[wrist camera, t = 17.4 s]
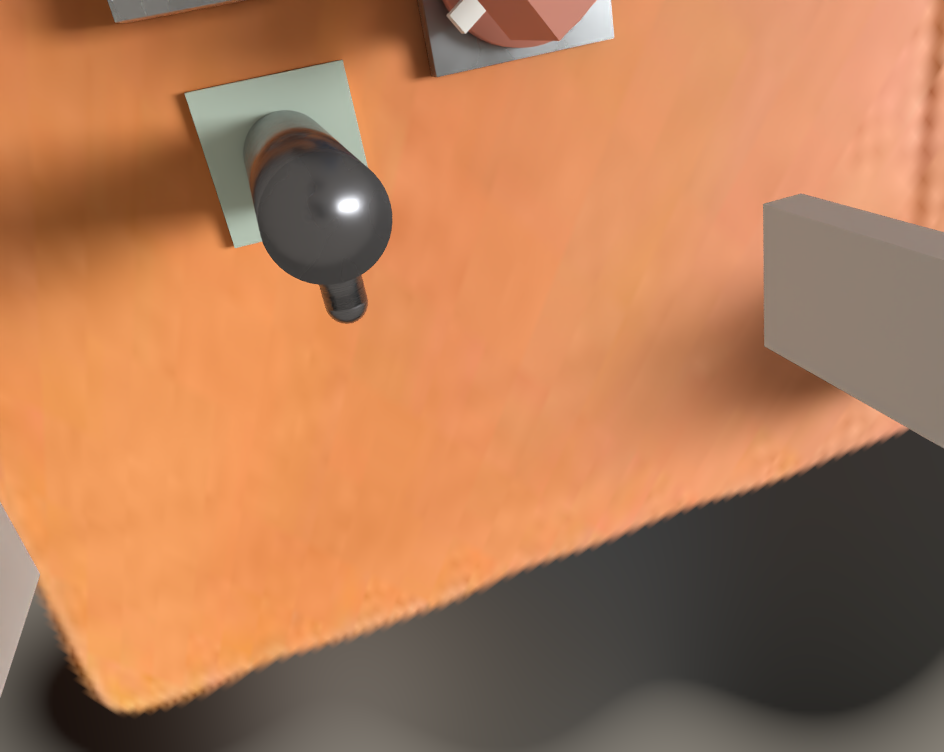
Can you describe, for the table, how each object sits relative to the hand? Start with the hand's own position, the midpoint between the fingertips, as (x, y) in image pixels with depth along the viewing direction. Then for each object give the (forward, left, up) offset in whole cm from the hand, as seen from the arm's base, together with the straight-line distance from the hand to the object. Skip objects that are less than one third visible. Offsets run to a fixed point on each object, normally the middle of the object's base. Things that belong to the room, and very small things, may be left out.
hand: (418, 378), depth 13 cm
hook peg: (0, 0, -26) cm, 26 cm away
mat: (0, 0, -27) cm, 27 cm away
